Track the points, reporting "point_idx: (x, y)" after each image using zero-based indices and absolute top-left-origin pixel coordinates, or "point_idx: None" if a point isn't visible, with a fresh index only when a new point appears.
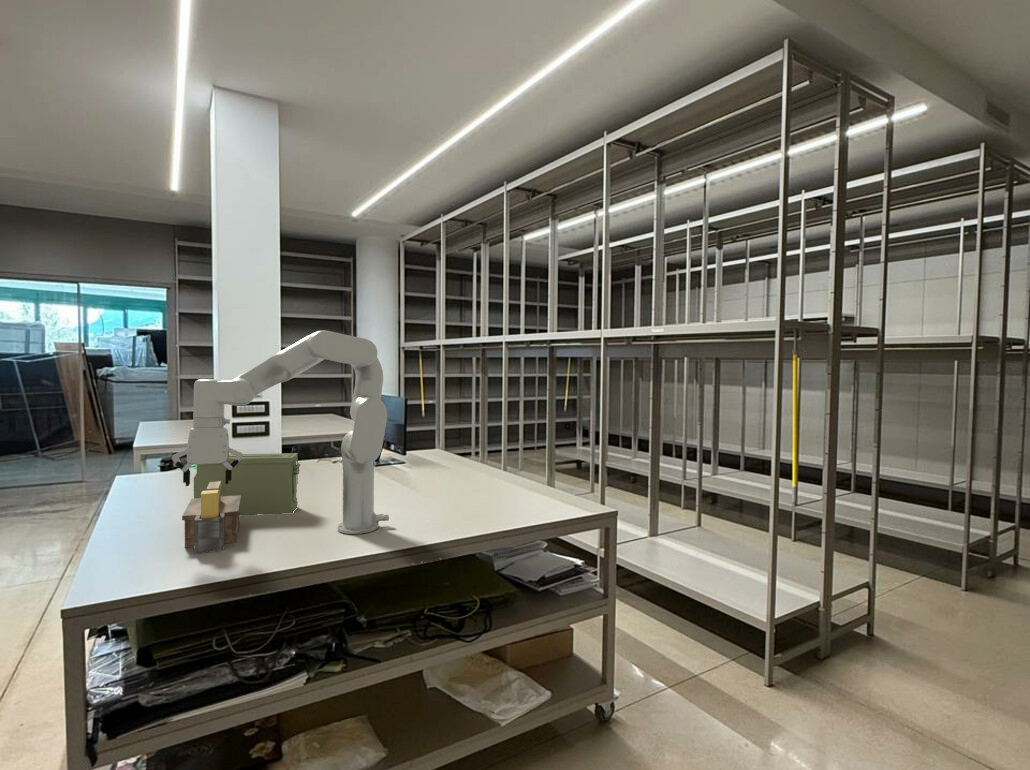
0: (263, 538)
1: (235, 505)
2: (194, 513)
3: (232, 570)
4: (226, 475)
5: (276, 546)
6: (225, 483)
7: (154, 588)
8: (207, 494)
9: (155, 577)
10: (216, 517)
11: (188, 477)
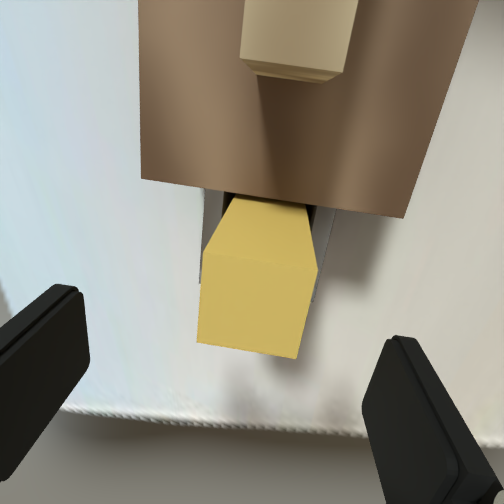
0: (456, 176)
1: (433, 55)
2: (194, 151)
3: (302, 391)
4: (389, 492)
5: (454, 286)
6: (362, 408)
7: (159, 401)
8: (236, 345)
9: (150, 350)
10: None
11: (42, 428)
